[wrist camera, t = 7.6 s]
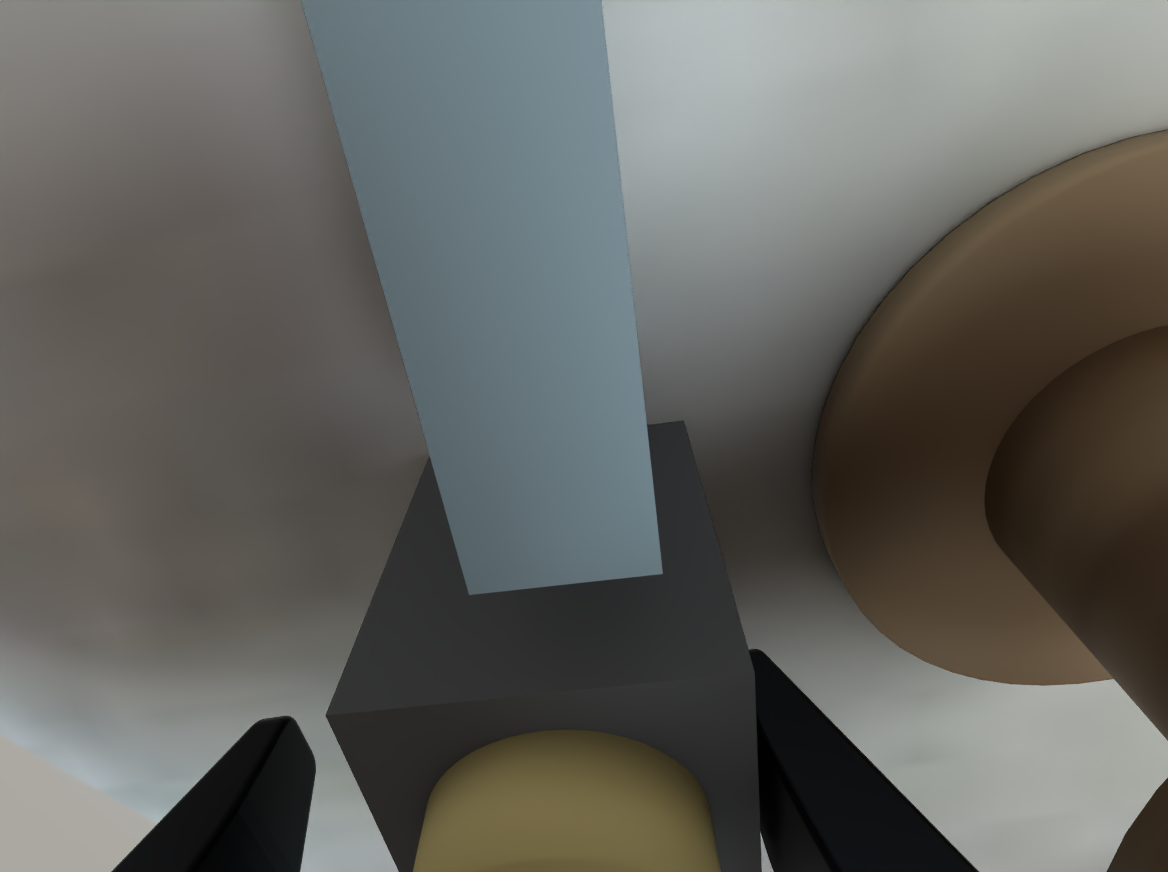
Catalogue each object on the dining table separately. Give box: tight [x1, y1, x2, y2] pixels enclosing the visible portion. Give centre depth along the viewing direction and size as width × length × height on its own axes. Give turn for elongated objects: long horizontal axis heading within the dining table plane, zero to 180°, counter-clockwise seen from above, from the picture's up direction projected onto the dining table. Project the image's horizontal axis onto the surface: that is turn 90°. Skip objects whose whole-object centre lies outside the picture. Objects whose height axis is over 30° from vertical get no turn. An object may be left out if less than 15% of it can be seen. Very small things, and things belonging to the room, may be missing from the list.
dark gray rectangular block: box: [326, 421, 762, 872], centre depth 9 cm, size 4×4×6 cm
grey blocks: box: [301, 0, 663, 595], centre depth 9 cm, size 18×2×5 cm, turn 8°
